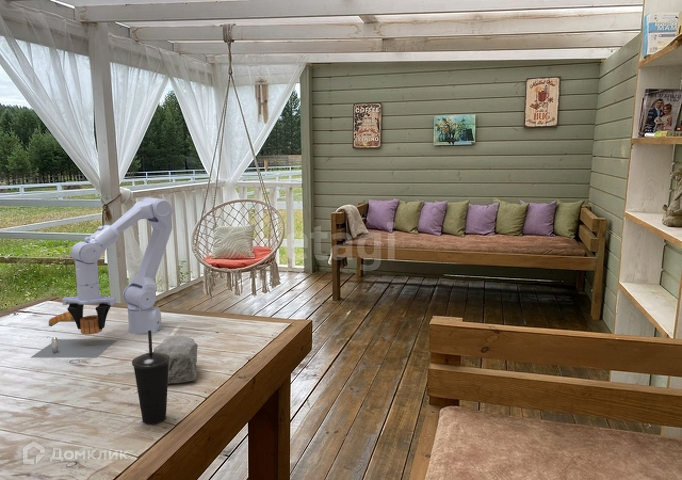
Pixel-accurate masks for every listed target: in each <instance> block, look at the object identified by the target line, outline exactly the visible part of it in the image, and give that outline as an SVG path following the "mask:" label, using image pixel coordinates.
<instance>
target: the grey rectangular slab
mask: <svg viewBox="0 0 682 480" xmlns="http://www.w3.org/2000/svg"><path fill="white" fill-rule="evenodd" d="M57 339H58V350H59V352H58V353H55V354H54V353H52V342H51V343H49V344H48V345H46V346H44V347H43V348H42V349H40V350H39V351H38V352H36V353H35V354H32V356H30V358H31V359H33V358H35V359H36V358H41V359H42V358H47V359H48V358H57V359H58V358H63V359H64V358H67V359H68V358H73V359H74V358H79V359H80V358H84V359H85V358H88V359H89V358H96V359H97V358H98V357H100V355H102V354H103V353H104V352H105V351H106V350H107V349H108V348H110V347H111V346H112V345H113V344H114V343H115V342H117V341H118V339H117V338H116V339H110V338H108V339H107V338H105V339H102V338H101V339H98V338H97V339H96V338H95V339H94V338H92V339H91V338H90V339H87V338H83V339H82V338H80V339H79V338H77V339H71V338H70V339H69V338H65V339H64V338H61V339H60V338H57Z"/></svg>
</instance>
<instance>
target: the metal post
mask: <svg viewBox="0 0 682 480" xmlns="http://www.w3.org/2000/svg"><path fill="white" fill-rule="evenodd" d="M58 339H59V338H58V337H57V336H53V337H52V338H51V343H52V353H54V354H55V353H58V352H59V350H58Z"/></svg>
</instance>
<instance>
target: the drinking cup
mask: <svg viewBox="0 0 682 480" xmlns="http://www.w3.org/2000/svg"><path fill="white" fill-rule="evenodd" d="M152 334H153V333H151V330H149V331H148V333H147V339H148V340H147V341H148V352H146V353H143V354H141V355H139V356H136V357H135V358H133V359H132V361H131V365H132V367H133V371H134V376H135V378H134V379H135V382H136V389H137V395H138V401H139V408H140V413H141V420H142V423H144V424H146V425H150V426H151V425H157V424H160V423H162V422H164V421H165V420H166V419H167V407H168V403H167V402H168V389H169V388H168V386H169V384H168V367H169V361H170V356H169V355H167V354H164V353H159V352H153V335H152Z"/></svg>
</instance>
